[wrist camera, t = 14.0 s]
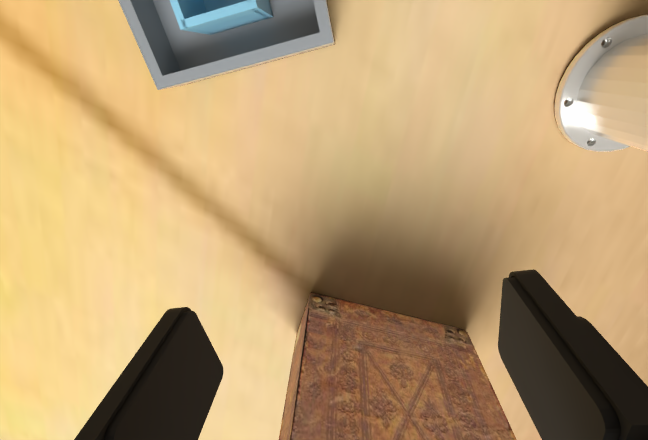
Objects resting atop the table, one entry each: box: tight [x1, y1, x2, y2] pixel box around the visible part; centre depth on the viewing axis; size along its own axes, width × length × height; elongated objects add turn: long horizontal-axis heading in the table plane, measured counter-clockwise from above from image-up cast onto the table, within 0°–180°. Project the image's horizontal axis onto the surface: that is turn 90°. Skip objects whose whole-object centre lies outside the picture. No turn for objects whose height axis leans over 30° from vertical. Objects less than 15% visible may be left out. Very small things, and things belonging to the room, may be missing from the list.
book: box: [279, 292, 516, 440], centre depth 36 cm, size 25×9×30 cm, turn 75°
